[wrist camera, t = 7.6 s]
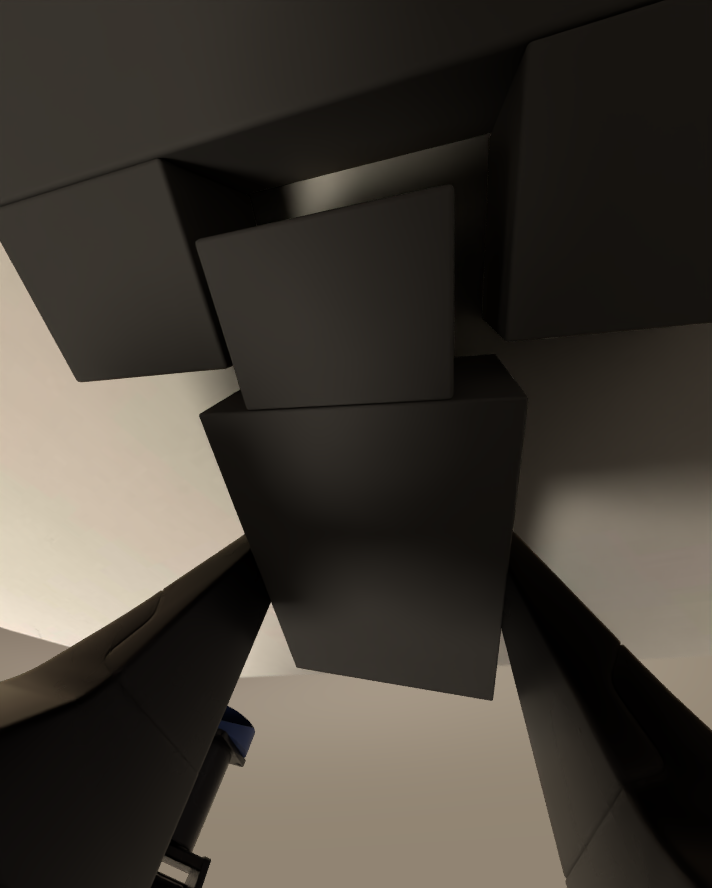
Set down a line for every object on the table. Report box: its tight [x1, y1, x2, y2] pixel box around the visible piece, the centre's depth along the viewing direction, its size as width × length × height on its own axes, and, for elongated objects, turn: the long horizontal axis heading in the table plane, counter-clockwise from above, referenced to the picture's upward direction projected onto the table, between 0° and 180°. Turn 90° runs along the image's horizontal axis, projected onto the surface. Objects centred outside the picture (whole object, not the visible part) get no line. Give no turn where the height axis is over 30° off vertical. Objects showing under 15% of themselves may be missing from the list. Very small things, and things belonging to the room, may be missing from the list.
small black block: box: [196, 184, 528, 701], centre depth 8 cm, size 6×12×3 cm, turn 8°
